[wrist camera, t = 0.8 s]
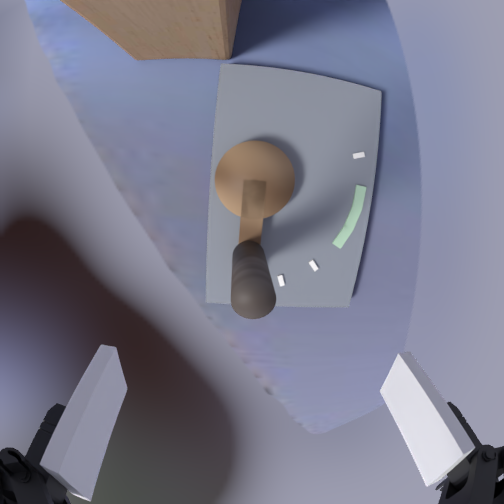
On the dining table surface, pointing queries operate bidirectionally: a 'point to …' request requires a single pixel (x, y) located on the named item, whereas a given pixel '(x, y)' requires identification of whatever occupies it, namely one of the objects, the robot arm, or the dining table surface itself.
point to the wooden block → (165, 26)
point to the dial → (253, 217)
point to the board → (299, 180)
